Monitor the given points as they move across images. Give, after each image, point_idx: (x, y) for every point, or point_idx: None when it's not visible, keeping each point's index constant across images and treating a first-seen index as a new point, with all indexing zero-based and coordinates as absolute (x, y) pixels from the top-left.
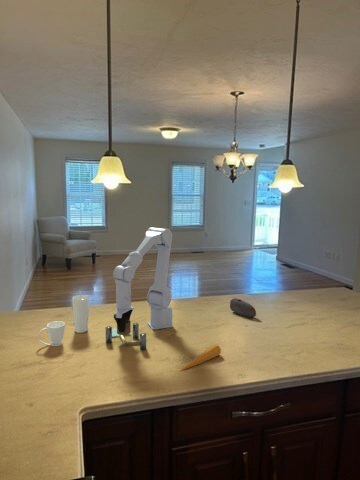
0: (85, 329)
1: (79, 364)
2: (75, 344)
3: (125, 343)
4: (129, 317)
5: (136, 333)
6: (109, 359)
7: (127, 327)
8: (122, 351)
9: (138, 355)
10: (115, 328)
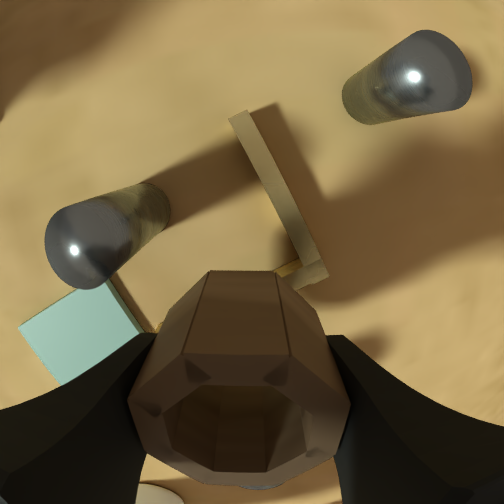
0: (162, 498)
1: (492, 398)
2: (307, 487)
3: (324, 267)
4: (100, 402)
5: (150, 205)
6: (491, 303)
7: (306, 334)
8: (412, 257)
9: (459, 129)
10: (61, 383)
